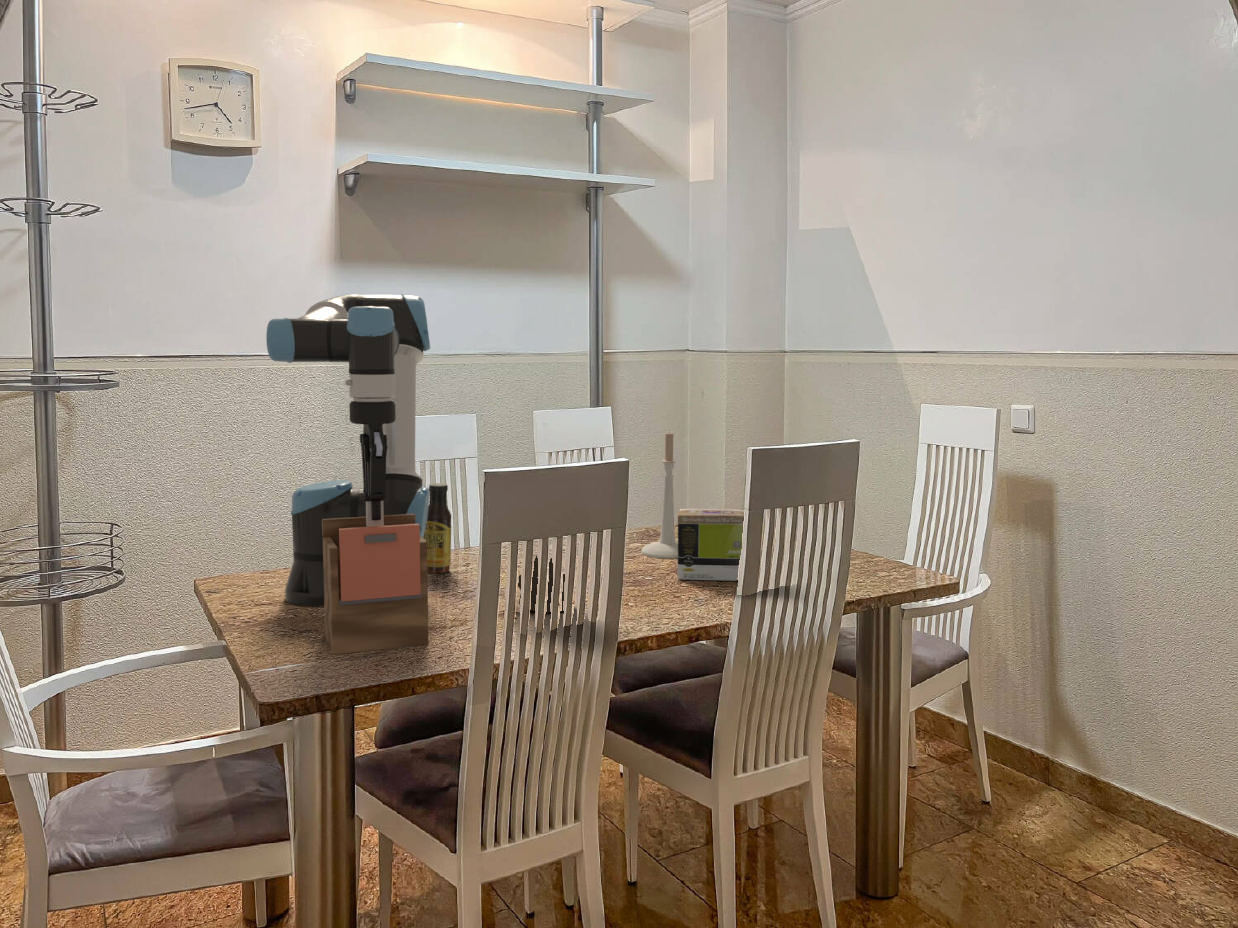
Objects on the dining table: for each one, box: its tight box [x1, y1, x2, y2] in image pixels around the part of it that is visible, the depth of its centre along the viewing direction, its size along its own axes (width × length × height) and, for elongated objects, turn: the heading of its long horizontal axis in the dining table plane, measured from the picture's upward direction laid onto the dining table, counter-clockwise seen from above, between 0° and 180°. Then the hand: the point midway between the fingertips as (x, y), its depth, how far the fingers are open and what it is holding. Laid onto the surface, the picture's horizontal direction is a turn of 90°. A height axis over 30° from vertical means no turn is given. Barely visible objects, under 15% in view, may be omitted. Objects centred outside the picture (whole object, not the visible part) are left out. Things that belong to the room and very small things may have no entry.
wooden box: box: [322, 514, 430, 655], centre depth 175 cm, size 11×16×21 cm
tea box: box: [677, 507, 744, 582], centre depth 225 cm, size 15×10×15 cm, turn 84°
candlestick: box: [640, 432, 678, 560], centre depth 247 cm, size 13×13×30 cm
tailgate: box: [339, 524, 422, 606], centre depth 169 cm, size 2×14×13 cm, turn 113°
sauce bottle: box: [423, 482, 452, 575], centre depth 226 cm, size 7×6×20 cm
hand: (375, 537), depth 173 cm, fingers closed
